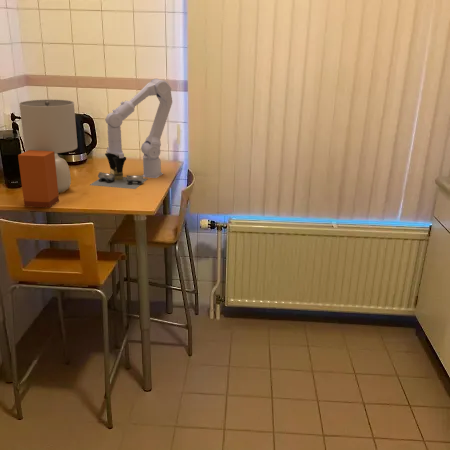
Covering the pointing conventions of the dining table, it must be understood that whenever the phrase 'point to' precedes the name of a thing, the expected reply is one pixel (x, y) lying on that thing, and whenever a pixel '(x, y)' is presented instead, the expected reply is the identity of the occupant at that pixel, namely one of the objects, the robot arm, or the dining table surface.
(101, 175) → the shaft
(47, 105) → the lamp
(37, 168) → the tall terracotta brick
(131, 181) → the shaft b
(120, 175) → the tan rectangular block
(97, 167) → the dining table surface
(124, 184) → the mat
